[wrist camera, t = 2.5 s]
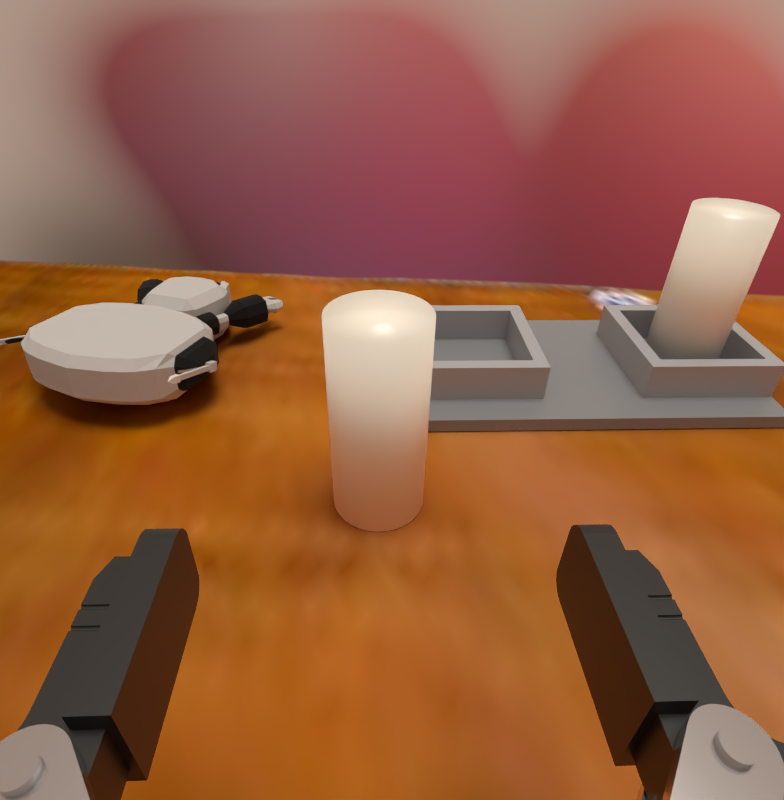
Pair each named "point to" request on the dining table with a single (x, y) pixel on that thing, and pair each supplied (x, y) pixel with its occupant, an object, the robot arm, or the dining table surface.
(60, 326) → the robot toy
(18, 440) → the dining table surface
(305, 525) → the dining table surface
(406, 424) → the cream white cylinder
